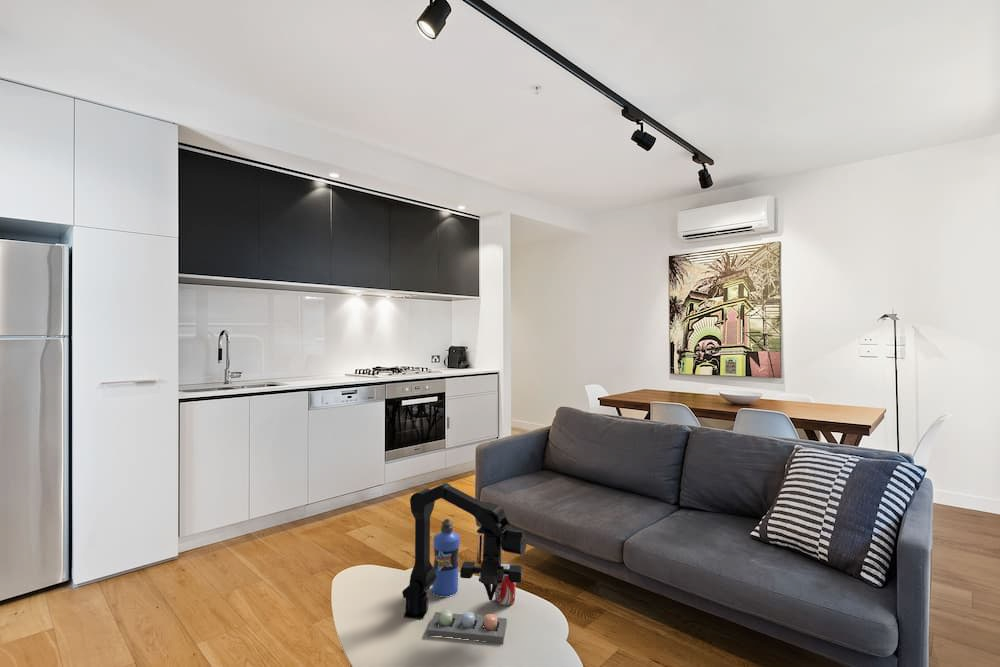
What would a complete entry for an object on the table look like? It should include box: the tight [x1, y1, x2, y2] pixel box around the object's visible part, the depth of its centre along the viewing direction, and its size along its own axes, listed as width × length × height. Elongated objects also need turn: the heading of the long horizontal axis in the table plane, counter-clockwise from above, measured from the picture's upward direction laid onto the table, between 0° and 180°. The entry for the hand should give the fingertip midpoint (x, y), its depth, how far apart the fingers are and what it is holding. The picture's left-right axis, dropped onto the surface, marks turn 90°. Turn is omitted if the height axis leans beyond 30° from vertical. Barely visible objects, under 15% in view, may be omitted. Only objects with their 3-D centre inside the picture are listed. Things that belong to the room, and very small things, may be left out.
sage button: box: [439, 609, 453, 627], centre depth 150 cm, size 4×4×3 cm
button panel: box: [426, 611, 508, 645], centre depth 149 cm, size 23×10×2 cm, turn 83°
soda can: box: [494, 562, 517, 606], centre depth 167 cm, size 7×7×12 cm
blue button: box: [461, 611, 476, 629], centre depth 149 cm, size 4×4×3 cm
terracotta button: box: [483, 613, 498, 631], centre depth 149 cm, size 4×4×3 cm
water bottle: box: [431, 518, 461, 597], centre depth 174 cm, size 9×9×25 cm
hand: (490, 599), depth 149 cm, fingers closed
